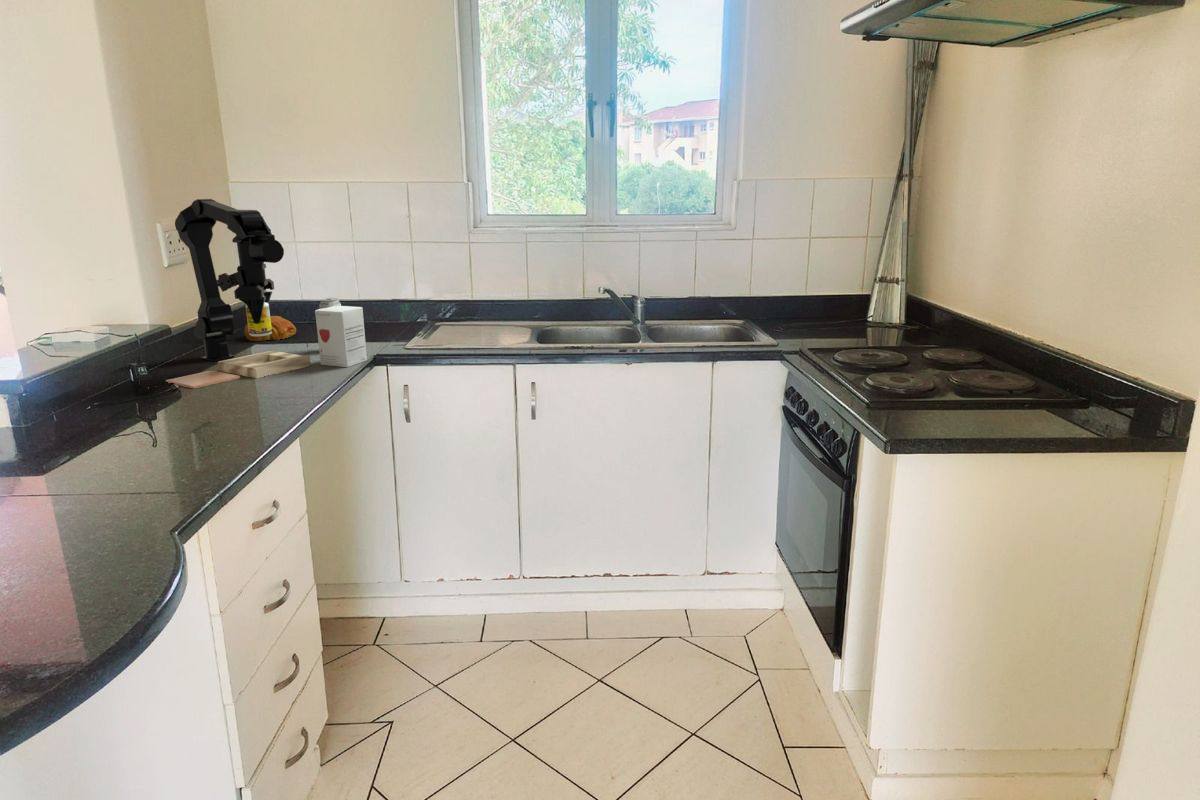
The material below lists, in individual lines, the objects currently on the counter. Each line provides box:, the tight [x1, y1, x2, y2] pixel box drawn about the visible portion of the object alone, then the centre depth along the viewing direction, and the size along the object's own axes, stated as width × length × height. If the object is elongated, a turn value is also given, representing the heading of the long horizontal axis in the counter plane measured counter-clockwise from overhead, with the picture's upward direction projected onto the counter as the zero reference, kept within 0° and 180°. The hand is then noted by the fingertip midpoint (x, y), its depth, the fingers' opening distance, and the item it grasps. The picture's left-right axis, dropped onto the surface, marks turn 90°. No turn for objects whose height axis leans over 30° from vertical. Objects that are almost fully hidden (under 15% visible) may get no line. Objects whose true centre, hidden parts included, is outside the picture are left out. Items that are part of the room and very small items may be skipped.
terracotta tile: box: [165, 369, 241, 389], centre depth 190 cm, size 12×12×1 cm
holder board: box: [217, 350, 311, 379], centre depth 202 cm, size 16×16×2 cm
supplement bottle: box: [245, 302, 272, 336], centre depth 198 cm, size 6×6×10 cm
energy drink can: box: [318, 297, 342, 309], centre depth 222 cm, size 6×6×15 cm
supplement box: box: [314, 305, 368, 368], centre depth 206 cm, size 9×9×15 cm
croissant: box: [243, 315, 297, 342], centre depth 244 cm, size 14×16×8 cm
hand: (259, 321), depth 199 cm, fingers closed on supplement bottle, 5 cm apart
